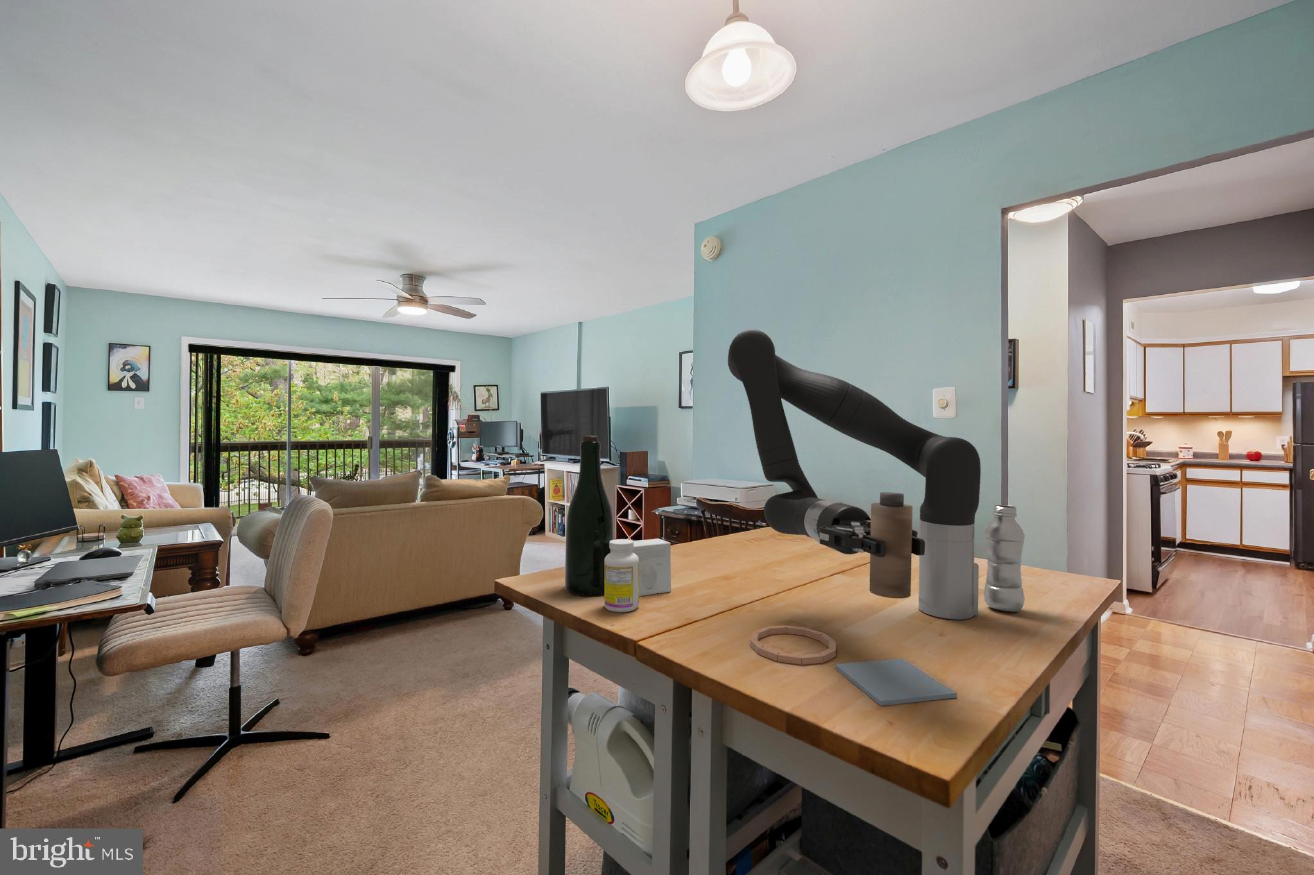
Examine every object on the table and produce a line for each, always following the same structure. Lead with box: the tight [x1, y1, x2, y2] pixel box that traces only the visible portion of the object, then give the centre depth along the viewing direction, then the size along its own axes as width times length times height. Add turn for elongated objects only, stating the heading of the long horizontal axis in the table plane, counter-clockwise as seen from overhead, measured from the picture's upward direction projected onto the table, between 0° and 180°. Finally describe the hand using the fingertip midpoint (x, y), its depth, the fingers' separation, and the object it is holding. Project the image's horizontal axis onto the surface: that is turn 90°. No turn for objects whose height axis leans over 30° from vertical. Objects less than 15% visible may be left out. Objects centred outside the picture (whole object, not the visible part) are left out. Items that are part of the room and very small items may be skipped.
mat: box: [834, 657, 958, 707], centre depth 75 cm, size 11×11×1 cm
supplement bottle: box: [603, 538, 640, 613], centre depth 106 cm, size 7×7×13 cm
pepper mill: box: [869, 491, 914, 599], centre depth 75 cm, size 5×5×14 cm
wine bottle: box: [564, 434, 615, 597], centre depth 117 cm, size 10×10×33 cm
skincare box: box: [633, 538, 672, 597], centre depth 117 cm, size 10×6×10 cm, turn 115°
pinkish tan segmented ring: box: [749, 625, 837, 665], centre depth 87 cm, size 13×13×1 cm
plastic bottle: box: [982, 504, 1025, 612], centre depth 106 cm, size 6×7×20 cm
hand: (902, 548), depth 73 cm, fingers closed on pepper mill, 5 cm apart
